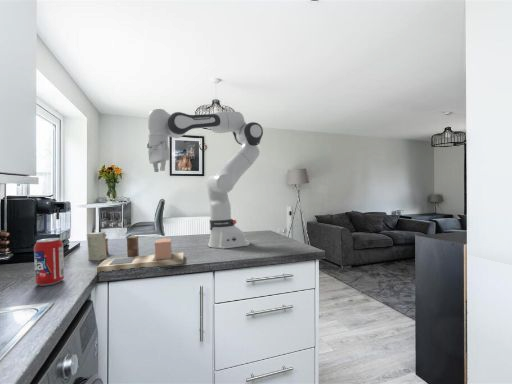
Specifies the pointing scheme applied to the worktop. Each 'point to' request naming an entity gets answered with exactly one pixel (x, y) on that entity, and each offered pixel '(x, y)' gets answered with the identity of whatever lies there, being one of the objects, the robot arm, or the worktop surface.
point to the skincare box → (96, 246)
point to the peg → (132, 246)
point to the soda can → (48, 261)
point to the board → (141, 262)
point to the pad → (122, 260)
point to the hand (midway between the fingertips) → (159, 171)
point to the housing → (163, 249)
